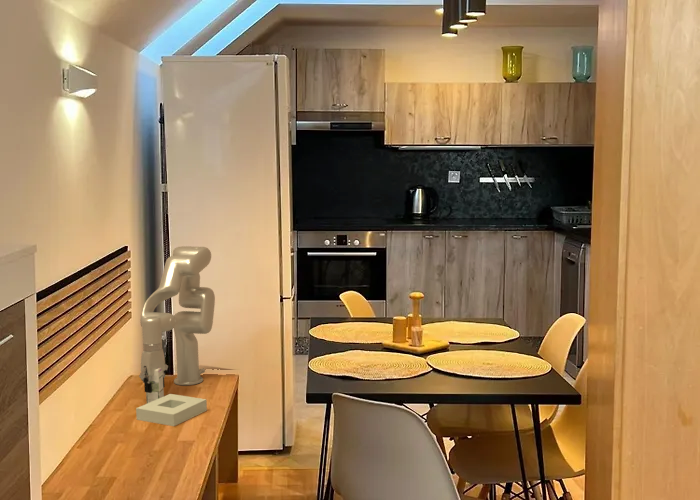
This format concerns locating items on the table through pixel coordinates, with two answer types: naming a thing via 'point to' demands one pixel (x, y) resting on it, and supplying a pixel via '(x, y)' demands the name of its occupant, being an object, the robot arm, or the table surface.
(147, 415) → the socket holder
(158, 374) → the syrup box
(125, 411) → the table surface
